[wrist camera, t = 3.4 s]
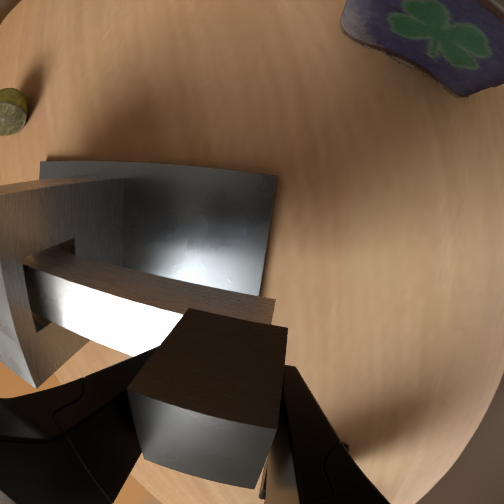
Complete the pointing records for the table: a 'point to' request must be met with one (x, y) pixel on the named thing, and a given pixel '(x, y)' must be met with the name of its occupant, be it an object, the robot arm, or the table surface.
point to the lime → (12, 111)
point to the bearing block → (126, 238)
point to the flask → (435, 38)
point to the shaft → (177, 359)
